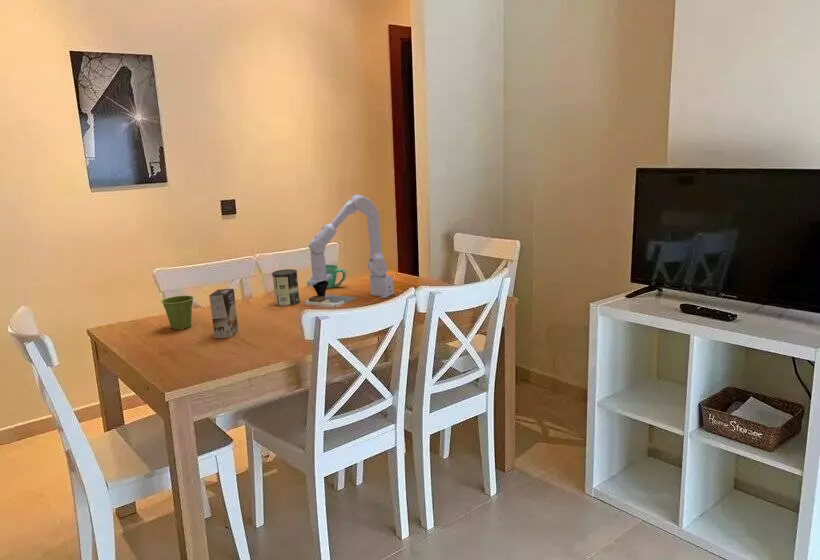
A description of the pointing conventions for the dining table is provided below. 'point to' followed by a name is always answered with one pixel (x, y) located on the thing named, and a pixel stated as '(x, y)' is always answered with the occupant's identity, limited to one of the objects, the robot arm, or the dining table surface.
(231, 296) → the coffee box
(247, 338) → the dining table surface
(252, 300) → the dining table surface
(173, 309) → the plant pot
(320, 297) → the token
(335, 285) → the mug
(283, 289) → the coffee can
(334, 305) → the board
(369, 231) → the robot arm
